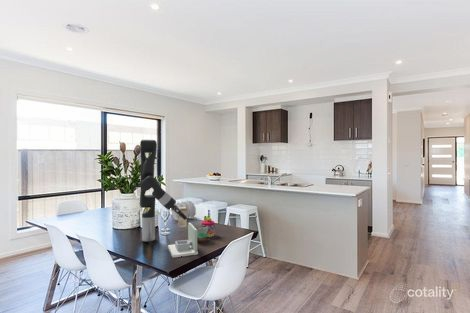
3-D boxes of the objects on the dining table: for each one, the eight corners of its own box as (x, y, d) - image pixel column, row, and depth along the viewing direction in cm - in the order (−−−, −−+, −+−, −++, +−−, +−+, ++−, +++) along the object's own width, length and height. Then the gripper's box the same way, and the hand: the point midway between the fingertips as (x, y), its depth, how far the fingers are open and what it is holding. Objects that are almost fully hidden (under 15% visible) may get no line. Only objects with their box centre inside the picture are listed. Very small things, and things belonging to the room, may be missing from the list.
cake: (217, 235, 213) (217, 216, 213) (207, 238, 205) (207, 218, 205) (208, 232, 220) (208, 214, 220) (198, 235, 212) (198, 216, 212)
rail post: (178, 225, 180) (178, 207, 180) (185, 225, 182) (185, 207, 181) (179, 227, 176) (179, 208, 176) (186, 226, 177) (186, 208, 177)
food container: (196, 244, 192) (196, 230, 192) (192, 241, 197) (192, 228, 197) (211, 240, 199) (211, 227, 199) (207, 238, 204) (207, 225, 204)
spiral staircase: (195, 221, 272) (175, 225, 253) (185, 211, 283) (165, 214, 263) (201, 206, 268) (181, 208, 249) (191, 196, 278) (171, 198, 259)
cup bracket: (167, 247, 185) (167, 224, 185) (191, 244, 191) (191, 222, 191) (172, 257, 167) (172, 232, 166) (198, 254, 172) (198, 229, 172)
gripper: (172, 198, 169) (191, 215, 174) (169, 194, 182) (187, 211, 187) (164, 207, 167) (183, 224, 172) (161, 203, 180) (179, 219, 185)
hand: (185, 217), depth 179 cm, fingers closed on rail post, 4 cm apart
